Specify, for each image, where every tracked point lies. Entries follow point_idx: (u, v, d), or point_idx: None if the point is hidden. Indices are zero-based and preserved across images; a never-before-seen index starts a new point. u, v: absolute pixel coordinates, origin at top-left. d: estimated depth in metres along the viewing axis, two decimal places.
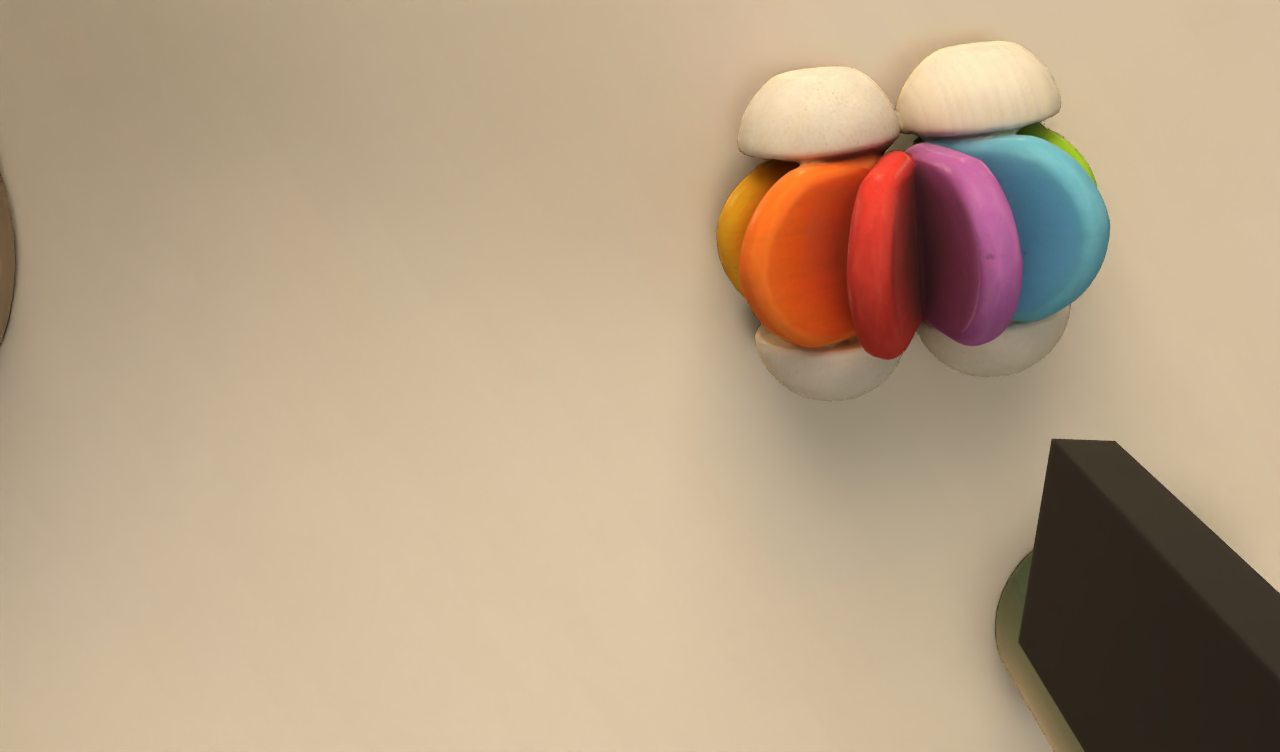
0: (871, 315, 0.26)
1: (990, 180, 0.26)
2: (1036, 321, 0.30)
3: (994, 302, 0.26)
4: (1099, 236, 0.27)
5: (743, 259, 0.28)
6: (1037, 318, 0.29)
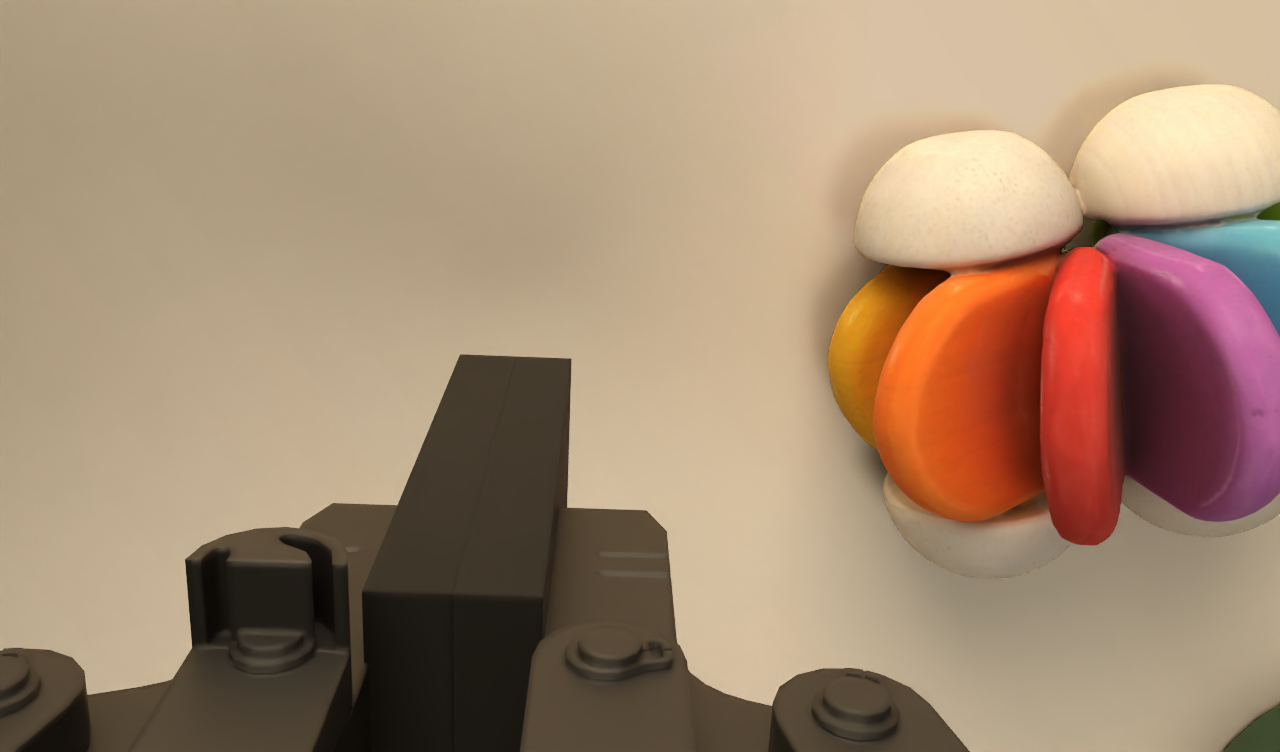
0: (1081, 500, 0.18)
1: (1247, 298, 0.18)
2: None
3: (1261, 475, 0.18)
4: None
5: (880, 413, 0.20)
6: None
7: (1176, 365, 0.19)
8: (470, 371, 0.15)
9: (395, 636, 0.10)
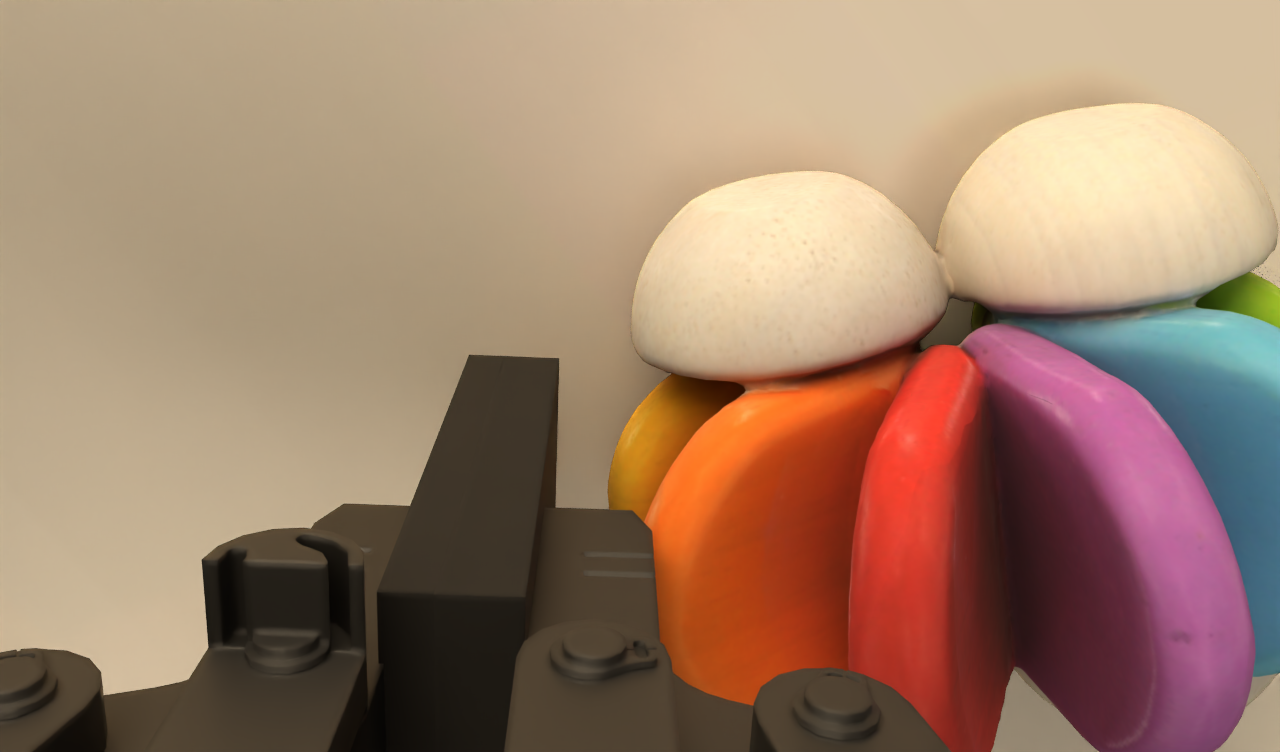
0: None
1: (1167, 448, 0.11)
2: None
3: (1191, 726, 0.12)
4: None
5: None
6: (1255, 676, 0.14)
7: (1067, 538, 0.13)
8: (479, 371, 0.15)
9: (409, 637, 0.10)
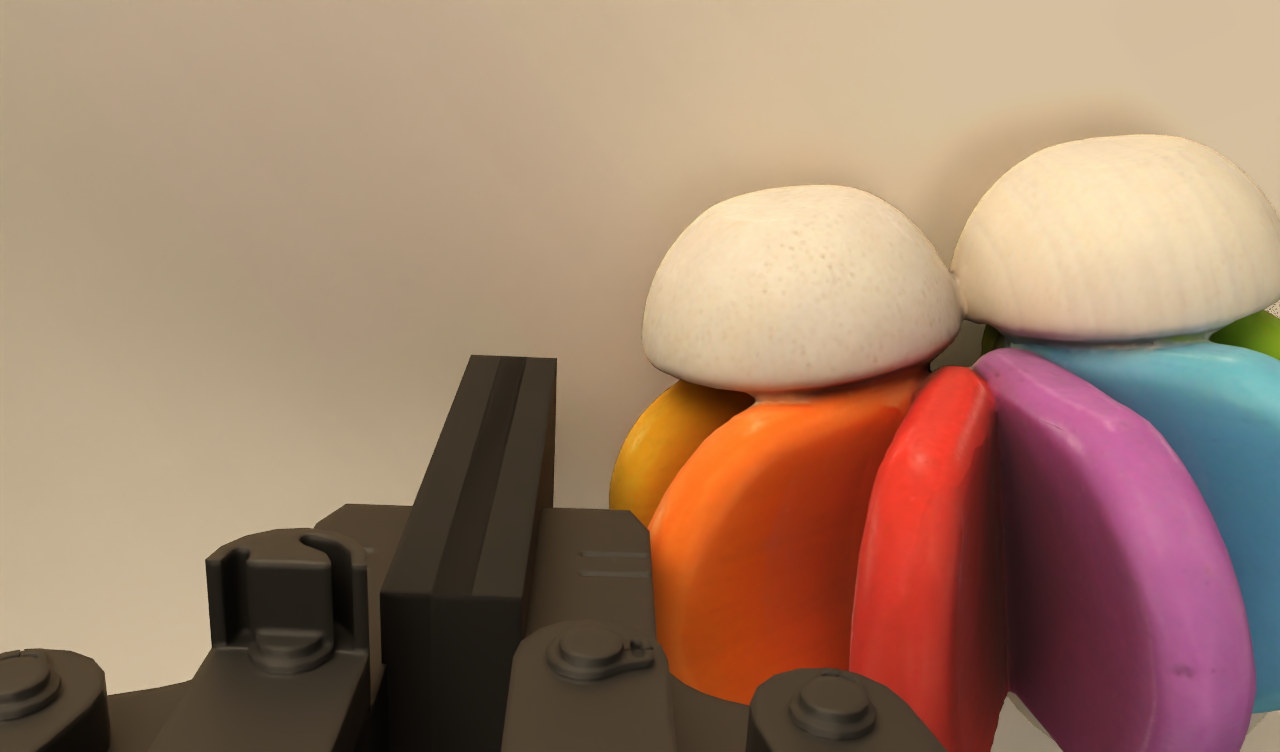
0: None
1: (1178, 481, 0.11)
2: None
3: None
4: None
5: None
6: None
7: (1071, 566, 0.13)
8: (481, 371, 0.15)
9: (412, 637, 0.10)
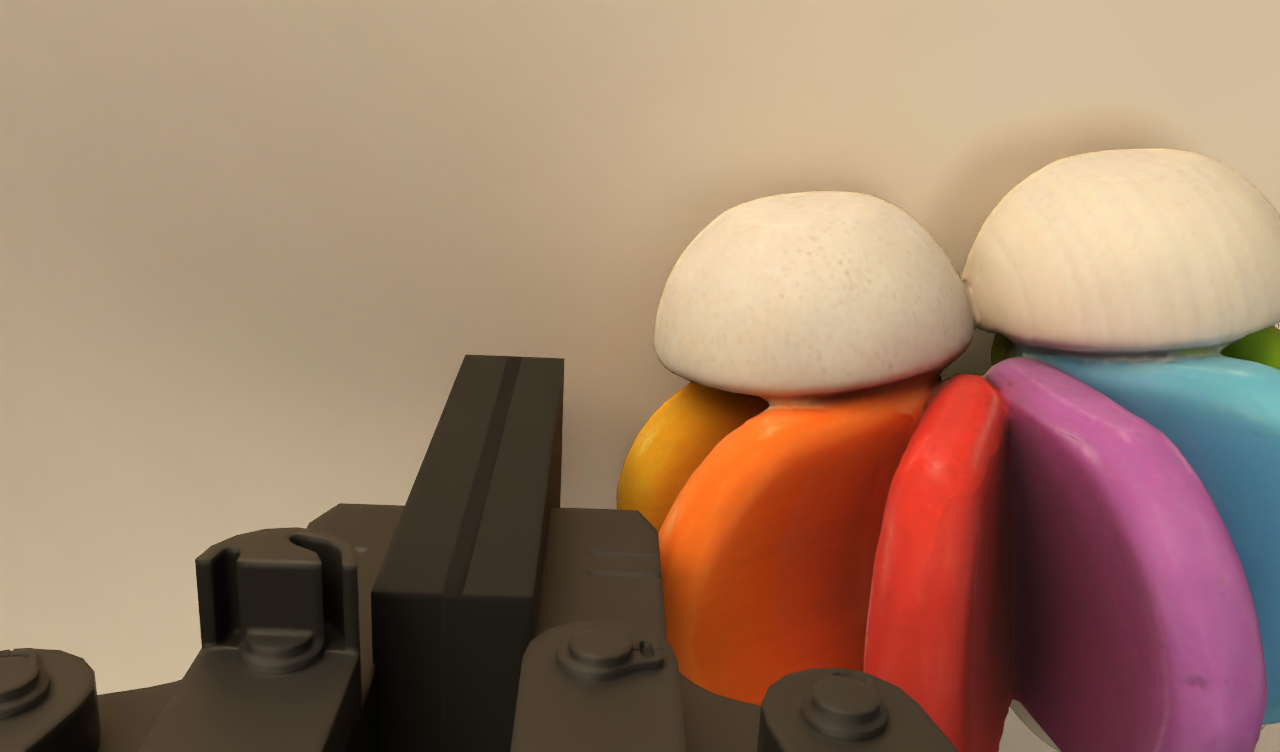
0: None
1: (1193, 493, 0.12)
2: None
3: None
4: None
5: None
6: None
7: (1083, 575, 0.13)
8: (476, 371, 0.15)
9: (404, 636, 0.10)
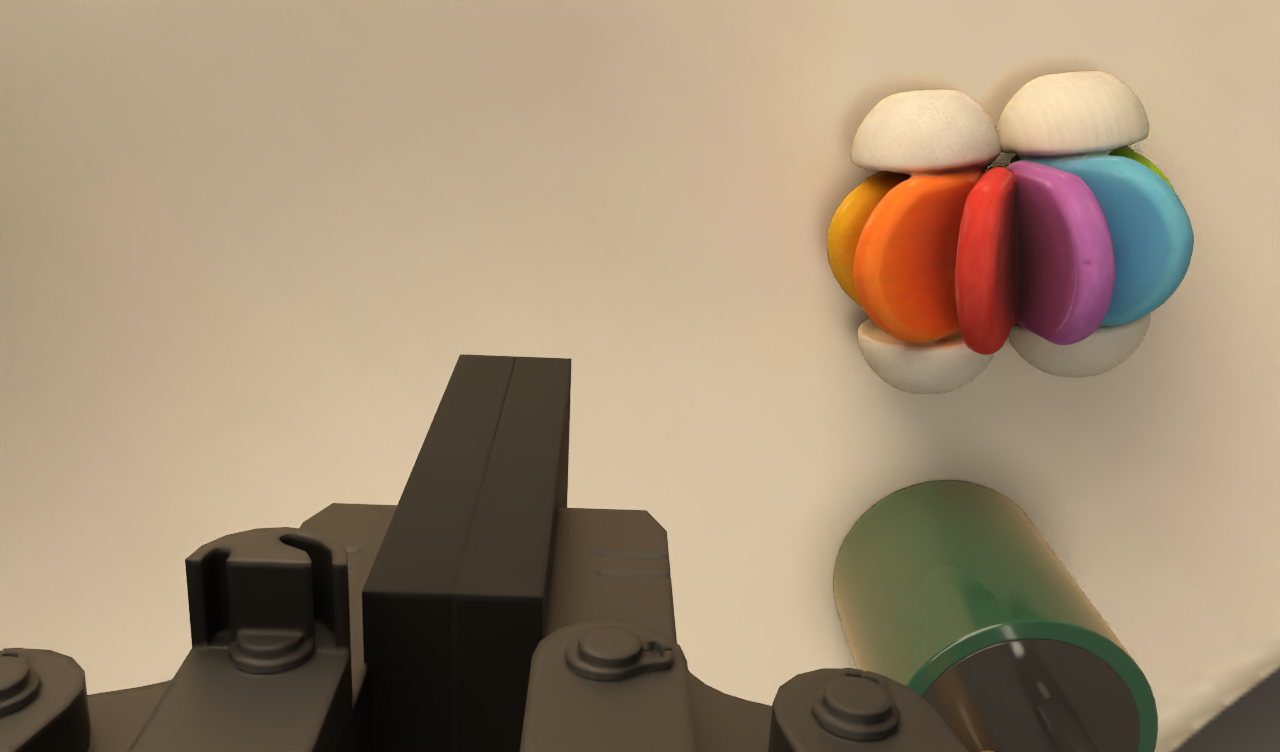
0: (977, 312, 0.29)
1: (1088, 194, 0.29)
2: (1120, 326, 0.33)
3: (1088, 304, 0.29)
4: (1184, 248, 0.30)
5: (858, 259, 0.31)
6: (1122, 322, 0.32)
7: (1046, 239, 0.30)
8: (469, 371, 0.15)
9: (395, 636, 0.10)
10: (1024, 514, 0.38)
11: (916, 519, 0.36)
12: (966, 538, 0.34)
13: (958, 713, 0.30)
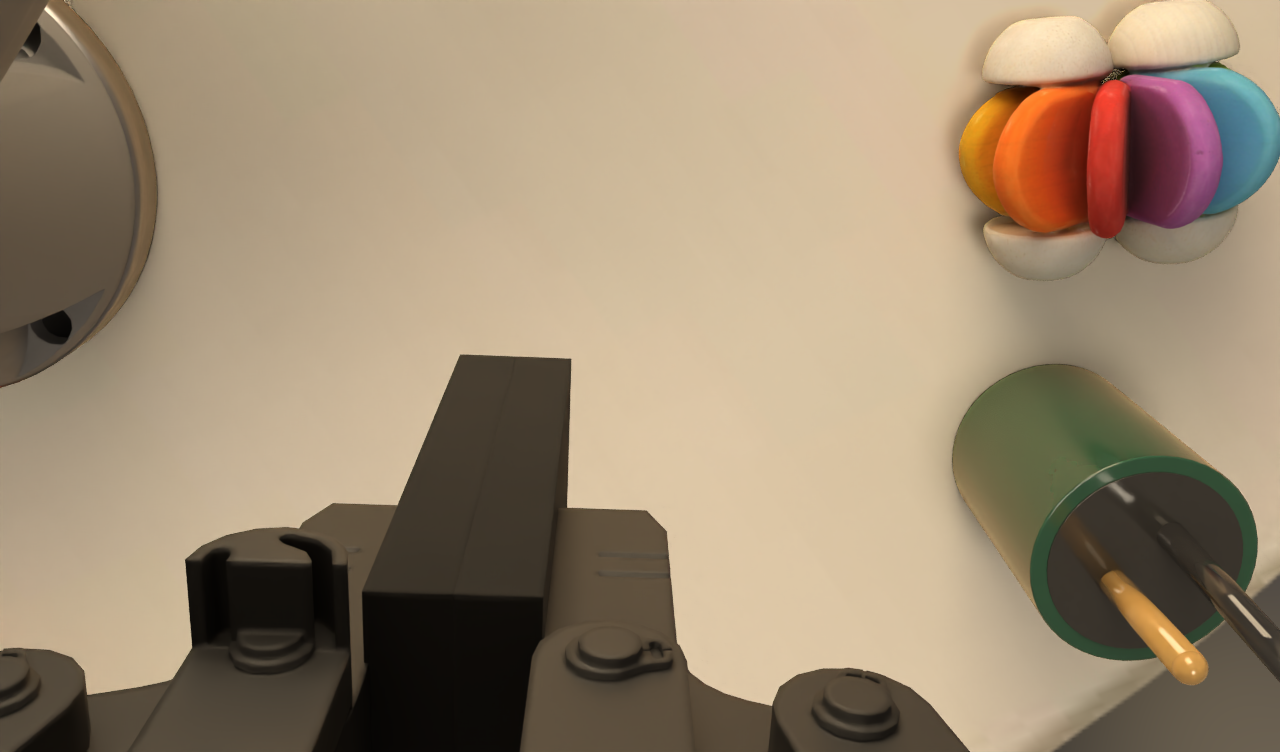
0: (1106, 197, 0.35)
1: (1198, 96, 0.35)
2: (1215, 216, 0.38)
3: (1200, 188, 0.35)
4: (1276, 142, 0.36)
5: (998, 159, 0.37)
6: (1220, 210, 0.37)
7: (1159, 137, 0.36)
8: (470, 371, 0.15)
9: (395, 636, 0.10)
10: None
11: (1033, 393, 0.42)
12: (1082, 403, 0.40)
13: (1091, 538, 0.36)
